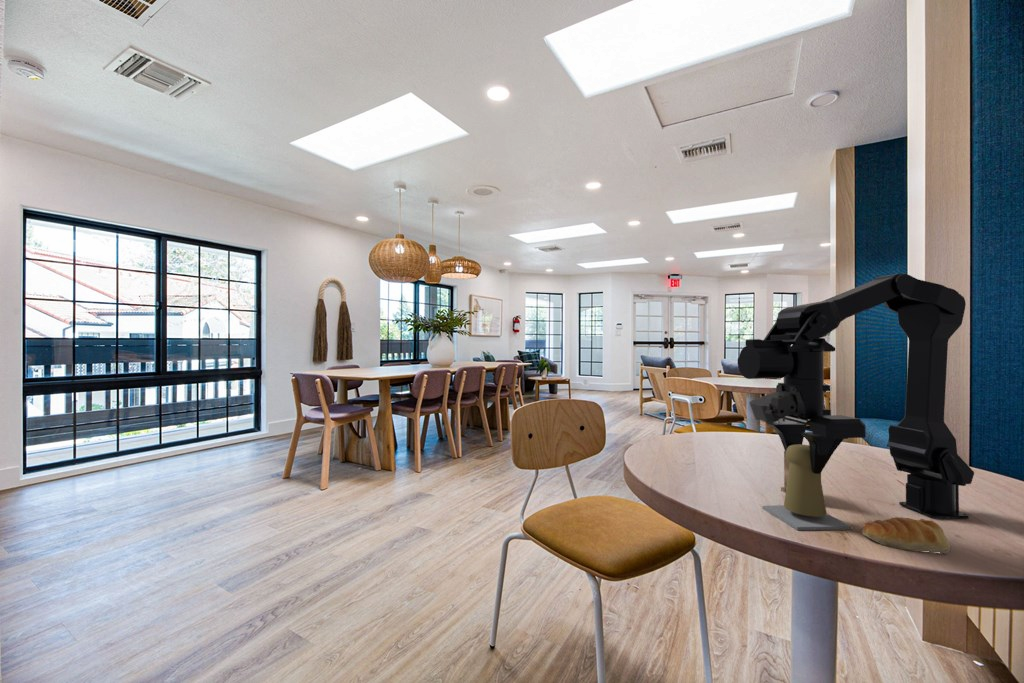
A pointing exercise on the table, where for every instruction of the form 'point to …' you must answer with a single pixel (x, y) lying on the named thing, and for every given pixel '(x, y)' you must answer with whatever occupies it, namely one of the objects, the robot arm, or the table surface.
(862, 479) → the table surface
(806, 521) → the coaster
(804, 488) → the olive peg figure
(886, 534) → the pastry
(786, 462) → the screen
